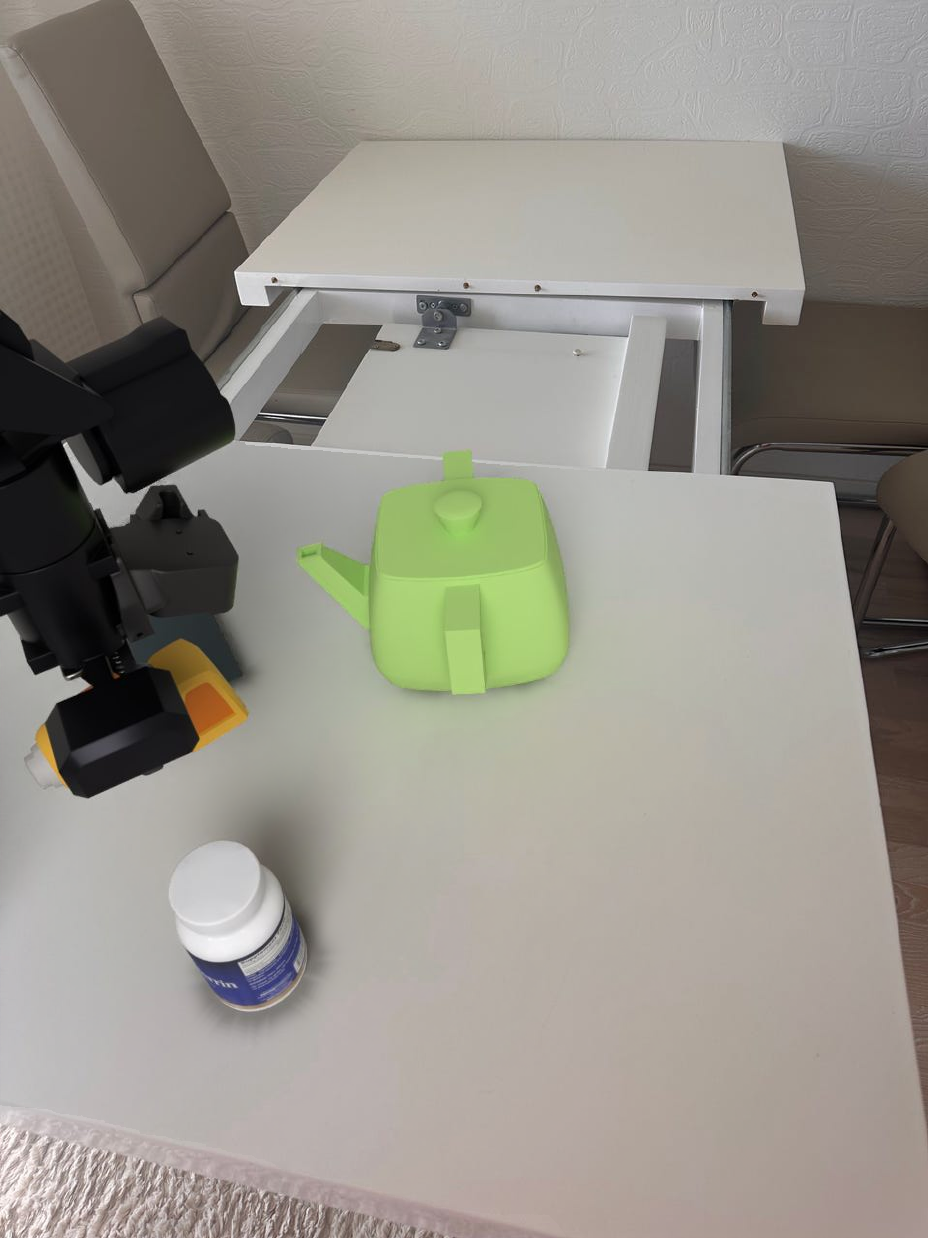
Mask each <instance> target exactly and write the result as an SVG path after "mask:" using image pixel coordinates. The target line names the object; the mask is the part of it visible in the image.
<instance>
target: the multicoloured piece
mask: <svg viewBox="0 0 928 1238" xmlns="http://www.w3.org/2000/svg"><path fill="white" fill-rule="evenodd" d="M148 663H149V664H151V665H152V666H153V667H155V668H160V669H164V670H169V671H170V672H171V674H172V676H173V678H174V681H175V683H176V685H177V687H178V690H179V692H180V694H181V696H182V699H183V701H184V703H185V705H186V708H187V710H188V712H189V715H190V717H191V719H192V722H193V724H194V726H195V729H196V731H197V733H198V735H199V738H200V740H199V742H198V743H197V745H196V747H195V748H194V750H193V752H191V753H190V754H192V753H195V752H197V751H200V750H201V749H202V748H204V747H206V746H208V745H209V744H211V743H213V742H215V741H216V740H217V739H219V738H220V737H222V736H224V735H226V734H227V733H229V732H230V731H232V730H234V729H235V728H236V727H238V726H239V725H241V724H243V723H244V722H246V720H247V719H248V717H249V714H250V713H249V710H248V708H247V706H246V705H245V703H244V702H243V700H242V699H241V698H240V696H239V695H238V693H237V692H236V691H235V690H234V688H233V687H232V686H231V684H230V683H229V681H228V682H227V681H226V679H225V678H224V677H223V675H222V674H221V673H220V672H219V670H218V669H217V668H216V667H215V665H214V664H213V663H212V662H211V661H210V660H209V658H208V657H207V656H206V655H205V654H204V653H203V652H202V651H201V650H200V648H199V647H198V646H196V645H194V644H192V643H190V642H188V641H186V640H184V639H182V638H181V639H179V640H177V641H174V642H173V643H171V644H169V645H168V646H166V647H164V648H163V649H161V650H160V651H158V652H157V653H155V654H153V655H152V657H151V658H150V659H149V660H148ZM113 674H114V676H115V679H116V678H118V677H120V676H119V675H118V674H116V673H114V672H113ZM91 688H93V686H92V685H89V686H88V687H86V688H84V689H83V690H81V691H80V692H78V693H77V694H79V693H82V692H84V691H87V690H89V689H91ZM45 722H46V720H45V721H44V722H43V723H42V724H40V726H39V727H38V729H37V730H36V733H35V737H34V740H35V742H36V743H34V744H33V745H32V746H31V747H29V749H30V751H31V752H30V753H29V754H27V755H26V756H24V757H23V761H24V765H25V767H26V769H27V770H28V772H29V773H30V775H31V776H32V778H33V779H34V781H35V782H36V784H37V785H38V786H39V787H40V788H41V789H43V790H46V789H49V788H50V787H52V786H53V787H54V788H55V789H57V788H60V787H63V786H64V787H65V788H66V789H68V790H70V789H69V788H68V786H67V785H66V783H65V781H64V780H63V778H62V777H61V775H60V774H59V772H58V769H57V765H56V762H55V758H54V754H53V751H52V747H51V744H50V740H49V737H48V733H47V730H46V726H45Z"/></svg>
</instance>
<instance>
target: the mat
mask: <svg viewBox="0 0 928 1238" xmlns="http://www.w3.org/2000/svg"><path fill="white" fill-rule="evenodd" d="M147 616H148V618H149V620H150V622H151V625H152V627H153V629H154V631H155V634H153V635H150V636H148V637H145V638H143V639H140V640H138V641H136V642H130V641H129V640H128V642H129V644H130V647H131V649H132V652H133V654H134V657H135V659H136V662H137V663H148V660H149V659H150V658H151V657H152V655H153V654H155V653H157V652H158V651H160V650H161V649H163V648H164V647H166V646H168V645H169V644H171V643H173V642H174V641H177V640H179V639H181V638H182V639H184V640H186V641H188V642H190V643H192V644H194V645H196V646H198V647H199V648H200V650H201V651H202V652H203V653H204V654H205V655H206V656H207V657H208V658H209V660H210V661H211V662H212V663H213V664H214V665H215V667H216V668H217V669H218V670H219V672H220V673H221V674H222V675H223V677H224V678H225V679H226V681H227V682H228V683H229V682H231V681H233V680H235V679H238V678H240V677H242V676H243V672H242V670H241V667H240V665H239V664H238V662H237V660H236V658H235V656H234V654H233V652H232V650H231V648H230V646H229V644H228V642H227V640H226V639H225V636H224V634H223V632H222V630H221V628H220V626H219V625H218V622H217V620H216V619H215V617H214V615H213V614H211V613H209V612H207V613H199V614H191V615H183V616H175V617H167V618H159V617H154V616H151V615H149V614H147ZM127 639H128V638H127Z"/></svg>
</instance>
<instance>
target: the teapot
mask: <svg viewBox="0 0 928 1238" xmlns="http://www.w3.org/2000/svg"><path fill="white" fill-rule="evenodd" d="M441 453H442V466H443V480H439V481H431V482H424V483H418V484H413V485H407V486H402V487H398V488H395V489H392V490H390V491H388V492H387V491H386V493H385V494H383V495H381V498H380V499H379V505H378V509H377V514H376V521H375V526H374V534H373V539H372V546H371V553H370V560H369V564H365V563H362V562H360V561H358V560H356V559H353V558H352V557H349V556H347V555H345V554H343V553H341V552H339V551H337V550H334V549H333V548H331V547H328V546H326V545H324V544H323V542H322V541H321V542H316V543H312V544H308V545H304V546H299V547H297V551H296V563H297V565H298V566H299V567H300V568H301V569H302V570H303V571H305V572H306V573H307V574H308V576H310V577H311V578H312V579H313V580H314V581H315V582H316V583H317V584H318V585H319V586H320V587H321V588H322V589H323V590H325V592H326V593H327V594H328V595H329V596H330V597H332V599H334V600H335V601H336V602H337V603H338V604H339V606H341V607H342V608H343V609H344V610H345V611H346V612H347V613H348V614H349V615H351V617H352V618H354V620H355V621H357V623H359V625H360V626H362V627H363V628H364V630H369V639H370V648H371V654H372V658H373V661H374V664H375V667H376V669H377V670H378V671H379V673H380V674H381V675H382V676H383V677H384V678H385V679H386V680H387V681H388V682H389V683H390V684H392V685H394V686H396V687H398V688H403V689H407V690H417V691H435V692H437V691H439V692H451V695H452V696H453V695H454V696H455V695H473V694H486V693H487V690H489V689H490V690H491V689H497V688H498V689H499V688H503V687H508V686H514V685H520V684H525V683H530V682H534V681H537V680H542V679H544V678H547V677H550V676H552V675H553V674H554V673H556V672H557V671H558V670H559V669H560V667H561V666H562V664H563V663H564V661H565V660H566V657H567V655H568V651H569V647H570V608H569V595H568V587H567V586H568V585H567V580H566V575H565V569H564V564H563V559H562V555H561V551H560V547H559V543H558V542H559V541H558V539H557V535H556V532H555V528H554V525H553V521H552V518H551V516H550V513H549V510H548V507H547V505H546V503H545V500H544V497H543V495H542V493H541V490H540V488H539V486H538V485H537V483H536V482H534V481H533V480H529V479H525V478H517V477H516V478H515V477H477V478H476V477H475V475H474V465H473V455H472V449H462V450H453V451H442V452H441Z"/></svg>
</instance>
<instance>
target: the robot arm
mask: <svg viewBox="0 0 928 1238" xmlns="http://www.w3.org/2000/svg"><path fill="white" fill-rule="evenodd" d="M231 407H232V406H231V405H230V403H229V400H228V399H227V397H225V396H224V395H223V394H222V393H221V391H220V388H219V387H218V385H217V383H216V381H215V379H214V378H213V376H212V374H211V373H210V372H209V370H208V369H207V367H206V365H205V364H204V362H203V361H202V360H201V358H200V357H199V356H198V355H197V353H196V352H195V351H194V350H193V348H192V345H191V341H190V339H189V335H188V333H187V330H186V329H185V328H183V327H181V326H180V325H178V324H177V323H175V322H174V321H172V320H171V319H169V318H168V317H165V316H163V315H160V316H158V317H155V318H153V319H150V320H149V321H146V322H144V323H142V324H141V325H138V326H137V327H136V328H135V329H133V330H131V332H129V333H127V334H126V335H124V336H122V337H120V338H118V339H116V340H113V341H111V342H109V343H107V344H104V345H102V346H99V347H98V348H96V349H93V350H91V351H88V352H86V353H83V354H82V355H79V356H77V357H75V358H73V359H71V360H67V361H66V362H64V361H63V360H62V359H61V358H59V357H58V356H57V355H56V354H55V353H53V351H51V350H50V349H48V348H47V347H45V345H43V344H42V343H41V342H39V340H37V339H35V338H30V339H28V337H27V336H26V334H25V333H24V331H23V329H22V327H21V326H20V325H19V324H18V323H17V322H16V321H15V320H14V319H12V318H11V317H10V316H9V315H8V314H7V313H6V312H4V311H3V310H2V309H0V618H1V617H4V616H7V617H8V619H9V620H10V622H11V624H12V625H13V627H14V629H15V630H16V633H17V634H18V635H19V640H20V643H21V646H22V650H23V653H24V657H25V661H26V663H27V665H28V667H29V668H30V670H31V672H32V673H33V675H34V676H37V675H40V674H42V673H46V672H47V671H50V670H52V669H55V668H57V667H59V669H60V672H61V675H62V677H63V679H64V680H65V681H66V682H71V681H73V680H76V679H79V678H81V679H82V680H83V681H84V682H86V683H87V684H88V685H89V686H91V685H92V686H93V688H91V689H89V690H87V691H84V692H82V693H80V692H78V693H79V694H78V693H77V694H75V695H72V696H70V697H67V698H65V699H62V700H60V701H58V702H55V704H54V706H53V708H52V710H51V712H50V713H49V715H48V716H47V718H46V720H45V721H46V722H45V721H44V722H45V726H46V730H47V733H48V737H49V740H50V744H51V747H52V751H53V754H54V758H55V762H56V765H57V769H58V772H59V774H60V775H61V777H62V778H63V780H64V781H65V783H66V785H67V786H68V788H69V789H68V790H70V792H71V794H72V795H73V796H75V797H78V798H82V799H83V798H84V799H87V800H88V799H90V798H93V797H96V796H98V795H100V794H103V793H104V792H106V791H109V790H111V789H113V788H116V787H117V786H119V785H122V784H124V783H127V782H129V781H131V780H134V779H135V778H138V777H140V776H144V777H147V776H150V775H152V774H155V773H157V772H159V771H161V770H162V769H163V768H164V765H167V764H169V763H171V762H173V761H176V760H178V759H181V758H182V757H185V756H186V755H189V754H192V753H194V752H193V750H194V748H195V747H196V745H197V743H198V742H199V740H200V738H199V735H198V733H197V731H196V729H195V726H194V724H193V722H192V719H191V717H190V715H189V712H188V710H187V708H186V705H185V703H184V701H183V699H182V696H181V694H180V692H179V690H178V687H177V685H176V683H175V681H174V678H173V676H172V674H171V672H170V671H169V670H164V669H160V668H155V667H153V666H152V665H151V664H149V663H137V662H136V659H135V657H134V654H133V652H132V649H131V647H130V644H129V642H128V640H129V641H130V642H136V641H138V640H140V639H143V638H145V637H148V636H150V635H153V634H155V631H154V629H153V627H152V625H151V622H150V620H149V618H148V616H147V614H149V615H151V616H154V617H159V618H167V617H175V616H183V615H191V614H199V613H207V612H209V613H211V614H213V616H214V615H221V614H225V613H228V612H230V611H231V610H232V609H233V608H234V605H235V598H236V587H237V577H238V567H239V559H240V557H239V554H238V552H237V550H236V548H235V546H234V545H233V543H232V541H231V540H230V538H229V536H228V535H227V532H226V531H225V529H224V527H223V526H222V524H221V523H220V521H218V520H216V519H214V518H212V517H210V516H209V514H208V513H207V511H206V509H204V508H203V509H197V515H194V513H193V512H192V510H191V509H190V508H189V506H188V504H187V502H186V500H185V498H184V496H183V494H182V493H181V491H180V489H179V487H178V485H177V484H161V485H160V484H159V485H157V484H156V485H154V483H157V482H159V481H161V480H163V479H164V478H166V477H168V476H171V475H172V474H174V473H176V472H178V471H179V470H182V469H183V468H185V467H187V466H189V465H191V464H193V463H195V462H197V461H199V460H201V459H203V458H205V457H207V456H209V455H210V454H212V453H214V452H216V451H219V450H220V449H222V448H224V447H226V446H227V445H229V444H232V442H233V441H234V440H235V437H236V422H235V418H234V414H233V411H232V408H231ZM64 440H65V441H66V443H67V445H68V447H69V449H70V450H71V453H72V454H73V455H74V458H76V460H77V462H78V464H79V465H80V466H81V468H82V469H83V471H84V472H85V473H86V474H87V475H88V477H89V478H90V479H91V480H92V481H93V482H94V483H96V484H97V485H99V486H104V485H105V484H107V483H109V482H111V481H113V480H114V481H115V482H116V483H117V484H118V486H119V488H120V489H121V490H122V492H123V493H124V494H126V495H127V494H136V493H138V492H140V491H141V490H143V489H145V488H148V489H147V491H146V493H144V496H143V498H142V499H141V501H140V502H139V504H138V506H137V507H136V509H135V513H131V514H129V522H127V523H126V524H124V525H118V526H111V527H109V525H108V523H107V521H106V519H105V516H104V514H103V512H102V509H101V508H100V507H99V508H95V509H94V507H93V504H92V503H91V502H90V500H89V498H88V496H87V494H86V492H85V490H84V487H83V486H82V483H81V481H80V479H79V477H78V475H77V473H76V470H75V468H74V466H73V464H72V462H71V459H70V457H69V455H68V453H67V451H66V449H65V446H64V444H63V442H62V441H64ZM127 638H128V639H127ZM113 672H114V673H116V674H118V675H119V676H120V677H118V678H116V679H115V676H114V674H113ZM191 752H192V753H191Z"/></svg>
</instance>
